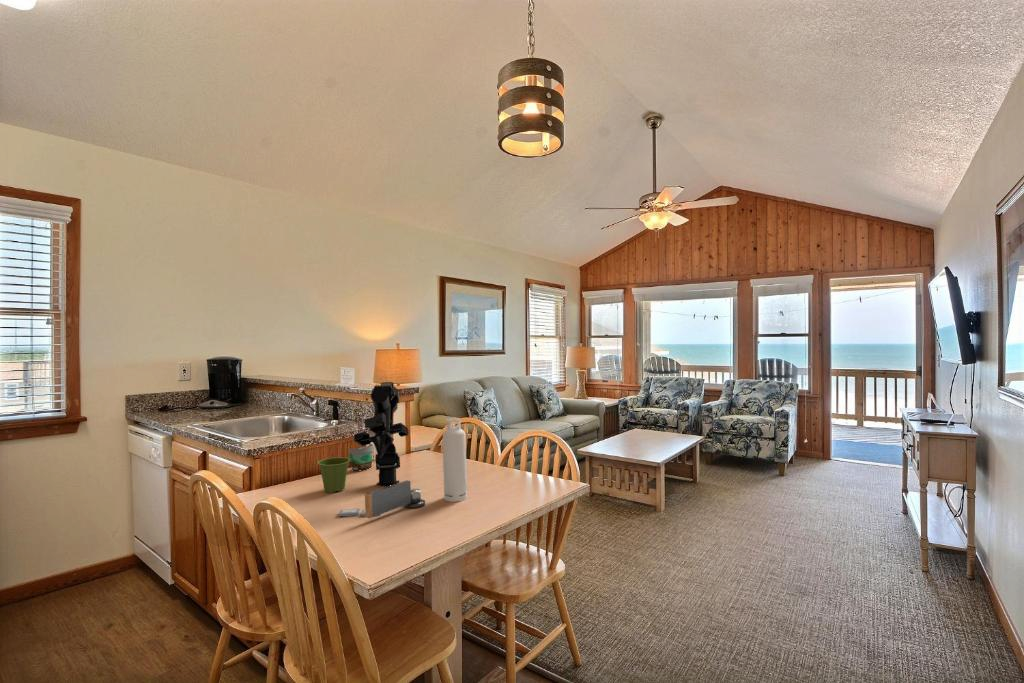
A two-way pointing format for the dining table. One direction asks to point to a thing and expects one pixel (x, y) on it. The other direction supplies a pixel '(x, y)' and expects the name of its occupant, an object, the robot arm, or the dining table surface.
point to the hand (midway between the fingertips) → (380, 457)
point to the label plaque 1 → (349, 512)
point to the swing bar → (390, 498)
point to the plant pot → (334, 473)
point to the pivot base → (416, 504)
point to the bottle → (454, 462)
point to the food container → (361, 458)
